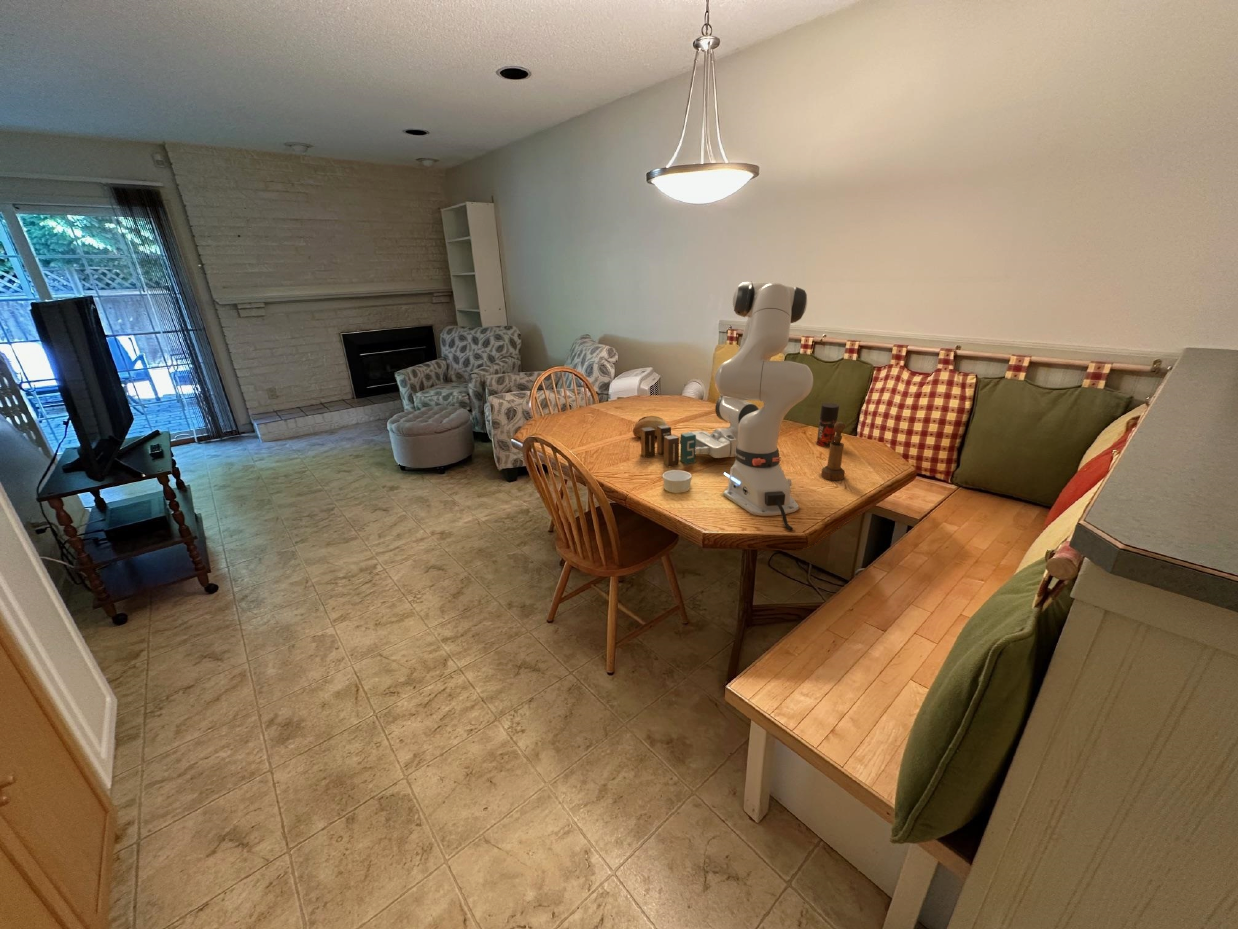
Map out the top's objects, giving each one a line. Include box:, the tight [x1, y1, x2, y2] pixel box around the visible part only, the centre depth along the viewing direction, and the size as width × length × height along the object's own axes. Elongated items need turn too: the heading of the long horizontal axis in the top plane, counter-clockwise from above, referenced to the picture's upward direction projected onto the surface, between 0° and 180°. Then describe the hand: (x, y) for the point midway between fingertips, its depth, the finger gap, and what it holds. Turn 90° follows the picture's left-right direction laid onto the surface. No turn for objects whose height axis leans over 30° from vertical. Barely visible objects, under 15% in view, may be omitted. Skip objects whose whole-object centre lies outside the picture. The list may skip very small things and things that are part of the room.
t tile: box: [656, 424, 672, 455], centre depth 175 cm, size 4×4×10 cm
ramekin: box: [662, 469, 693, 494], centre depth 146 cm, size 9×9×4 cm
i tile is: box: [663, 434, 680, 468], centre depth 164 cm, size 4×4×10 cm
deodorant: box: [816, 402, 840, 448], centre depth 177 cm, size 6×6×15 cm
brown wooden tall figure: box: [820, 421, 846, 481], centre depth 148 cm, size 7×6×18 cm
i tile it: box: [640, 427, 656, 458], centre depth 173 cm, size 4×4×10 cm
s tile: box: [679, 431, 696, 465], centre depth 166 cm, size 4×4×10 cm
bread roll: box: [632, 415, 668, 438], centre depth 194 cm, size 10×15×8 cm, turn 97°
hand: (687, 446), depth 166 cm, fingers open, 8 cm apart
